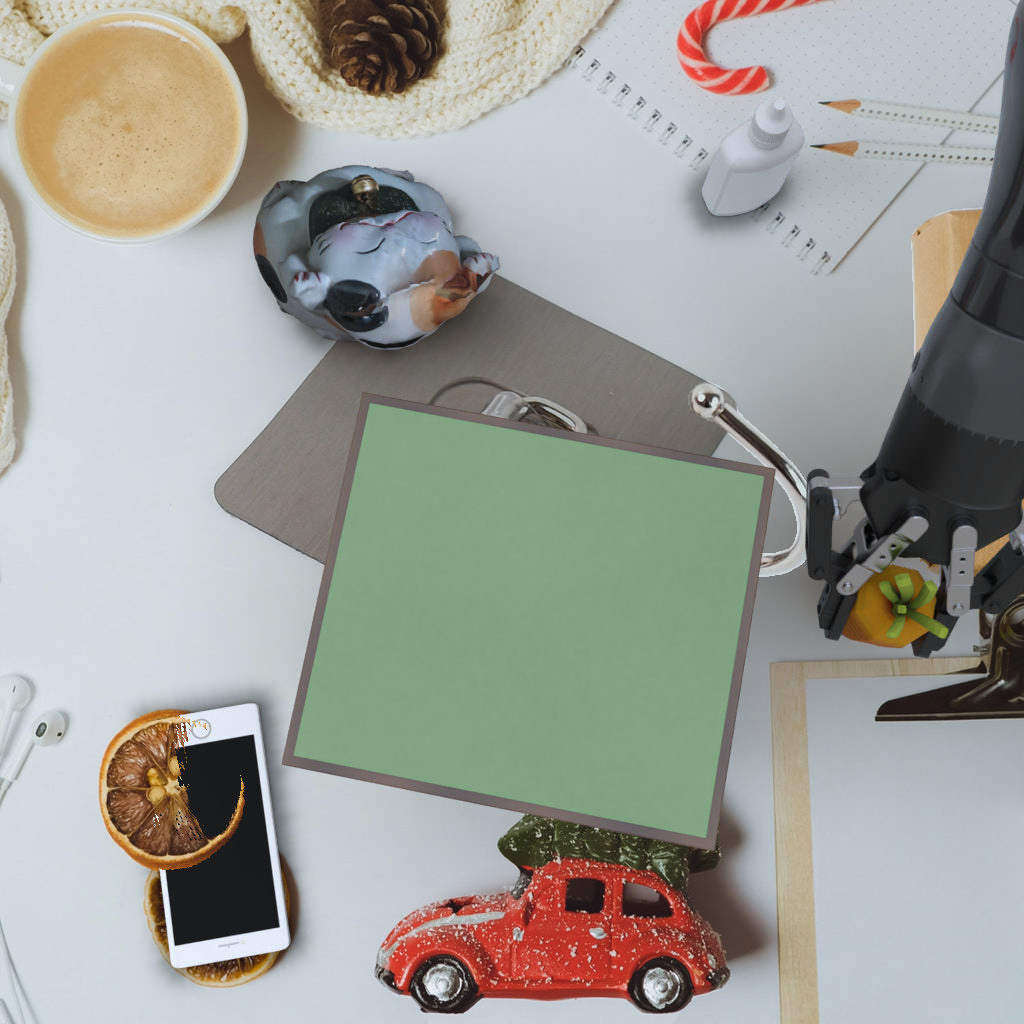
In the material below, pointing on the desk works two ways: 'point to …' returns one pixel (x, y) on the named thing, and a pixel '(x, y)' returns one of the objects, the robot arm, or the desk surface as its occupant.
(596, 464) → the cloth
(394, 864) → the desk surface
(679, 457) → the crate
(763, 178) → the eye dropper bottle
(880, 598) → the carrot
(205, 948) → the cell phone
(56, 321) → the desk surface
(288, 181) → the lucky cat figurine
